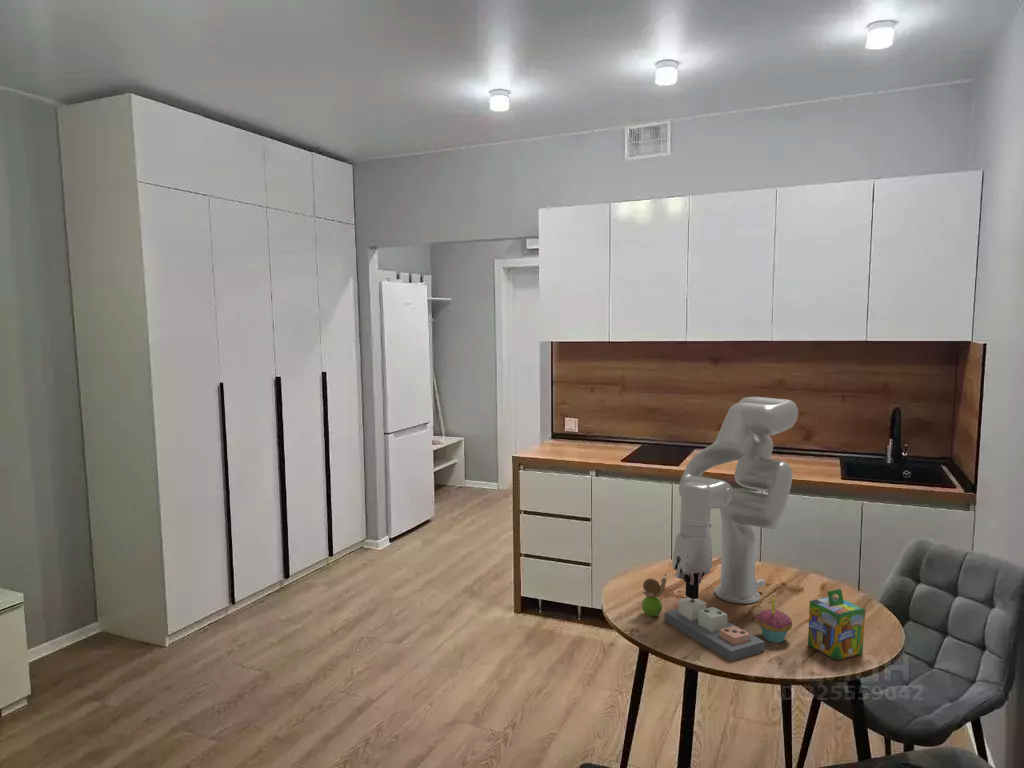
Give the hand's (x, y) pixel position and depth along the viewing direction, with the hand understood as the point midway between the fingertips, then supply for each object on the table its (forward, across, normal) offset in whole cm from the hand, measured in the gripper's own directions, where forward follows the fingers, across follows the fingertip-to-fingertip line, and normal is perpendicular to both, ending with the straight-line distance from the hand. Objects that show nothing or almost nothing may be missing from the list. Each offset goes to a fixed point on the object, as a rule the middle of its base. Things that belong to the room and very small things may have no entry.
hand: (691, 597), depth 177 cm
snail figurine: (+8, +5, -9) cm, 13 cm away
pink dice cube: (+7, -1, +15) cm, 17 cm away
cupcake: (+8, -14, +15) cm, 22 cm away
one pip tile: (+5, -1, 0) cm, 5 cm away
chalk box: (+8, -23, +26) cm, 35 cm away
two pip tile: (+5, -1, +7) cm, 9 cm away
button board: (+8, -1, +7) cm, 10 cm away
